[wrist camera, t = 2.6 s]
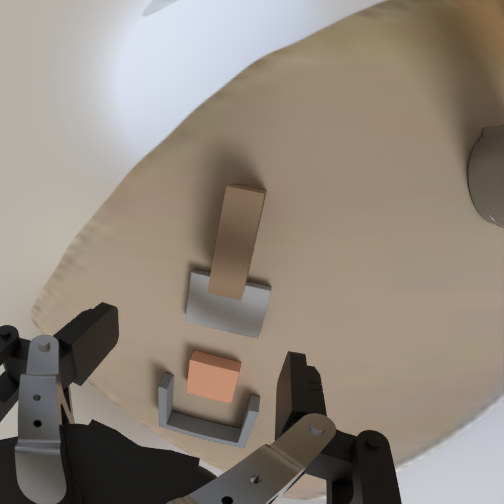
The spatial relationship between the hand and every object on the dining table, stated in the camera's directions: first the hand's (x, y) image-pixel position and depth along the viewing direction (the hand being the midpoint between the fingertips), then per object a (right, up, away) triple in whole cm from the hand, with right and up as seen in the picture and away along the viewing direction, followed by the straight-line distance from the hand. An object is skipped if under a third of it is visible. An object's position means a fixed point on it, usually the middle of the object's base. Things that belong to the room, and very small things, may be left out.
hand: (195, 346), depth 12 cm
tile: (-2, -9, +16) cm, 19 cm away
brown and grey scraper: (+1, +3, +12) cm, 13 cm away
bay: (-3, -14, +18) cm, 23 cm away
